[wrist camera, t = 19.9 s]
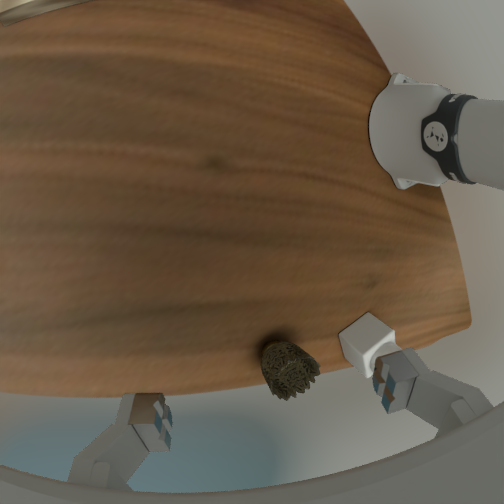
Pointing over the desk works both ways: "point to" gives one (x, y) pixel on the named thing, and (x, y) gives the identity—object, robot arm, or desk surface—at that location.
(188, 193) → the desk surface
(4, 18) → the square nut
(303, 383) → the cup
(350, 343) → the medicine bottle
